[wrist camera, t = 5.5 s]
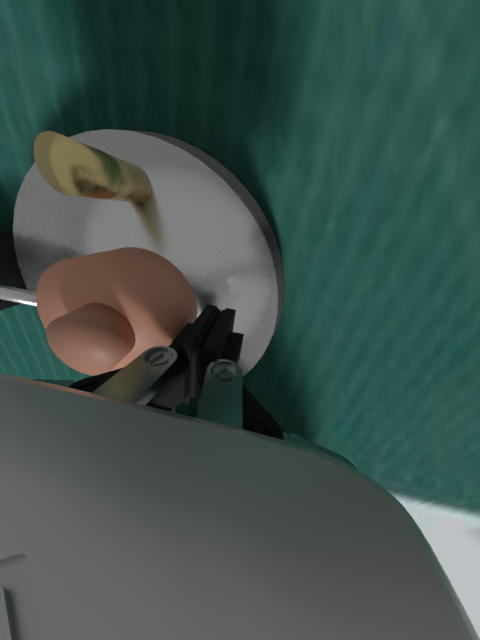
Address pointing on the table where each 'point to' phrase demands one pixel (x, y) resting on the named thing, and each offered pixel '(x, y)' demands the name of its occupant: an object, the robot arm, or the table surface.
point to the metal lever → (11, 274)
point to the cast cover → (112, 307)
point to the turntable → (148, 221)
